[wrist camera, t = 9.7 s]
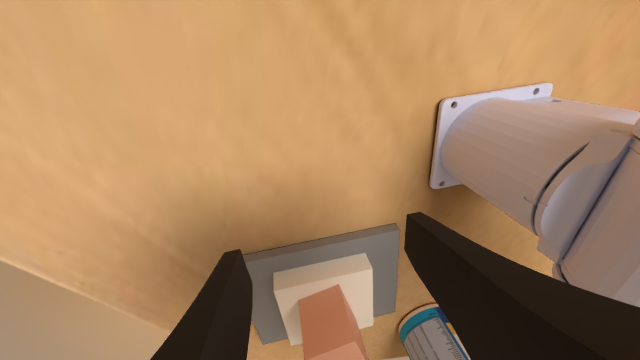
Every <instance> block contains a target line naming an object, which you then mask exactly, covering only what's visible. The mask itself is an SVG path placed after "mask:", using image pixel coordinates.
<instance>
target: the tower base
mask: <svg viewBox="0 0 640 360" xmlns="http://www.w3.org/2000/svg"><path fill="white" fill-rule="evenodd" d="M399 239H400V229H399V228H398V226H397V225H396V223H394V224H389V225H385V226H380V227H375V228H370V229H366V230H361V231H356V232H351V233H346V234H342V235H337V236H332V237H327V238H323V239H318V240H313V241H308V242H304V243H299V244H294V245H289V246H285V247H280V248H275V249H270V250H266V251H261V252H256V253H251V254H247V255H242V256H243V259H244V261H245V264H246V267H247V269H248V272H249V275H250V277H251V280H252V283H253V306H252V317H251V318H252V320H253V323H254V325H255V327H256V330H257V332H258V334H259V337H260V339H261V341H262V344H263V345H264V344H268V343H272V342H276V341H280V340H284V339H288V338H289V341H290V344H291V346H294V345H298V344H302V343H303V342H302V332H301V323H300V313H299V304H298V300H299V299H302V298H304V297H307V296H310V295H312V294H315V293H317V292H320V291H322V290H325V289H327V288H330V287H332V286H335V285H337V284H339V286H340V288H341V290H342V292H343V294H344V296H345V298H346V300H347V302H348V304H349V306H350V308H351V310H352V312H353V314H354V316H355V318H356V321H357V324H358V327H359V329H362V328H366V327H370V326H373V317H377V316H381V315H385V314H389V313H393V312H395V304H396V288H397V272H398V255H399Z"/></svg>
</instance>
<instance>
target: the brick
mask: <svg viewBox="0 0 640 360" xmlns="http://www.w3.org/2000/svg"><path fill="white" fill-rule="evenodd" d="M298 304H299V313H300V323H301V332H302V342H303V351H304V360H369V359H368V356H367V353H366V350H365V347H364V343H363V340H362V337H361V334H360V331H359V327H358V324H357V321H356V318H355V316H354V314H353V312H352V310H351V308H350V306H349V304H348V302H347V300H346V298H345V296H344V294H343V292H342V290H341V288H340V286H339V284H337V285H335V286H332V287H330V288H327V289H325V290H322V291H320V292H317V293H315V294H312V295H310V296H307V297H304V298H302V299H299V300H298Z"/></svg>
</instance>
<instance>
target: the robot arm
mask: <svg viewBox="0 0 640 360" xmlns="http://www.w3.org/2000/svg"><path fill="white" fill-rule="evenodd" d="M552 89H553V85H552V83H546V82H545V83H539V84H532V85H526V86H520V87H514V88H508V89H501V90H495V91H489V92H483V93H477V94H470V95H464V96H458V97H452V98H446V99H444V100H442V101H441V103H440V105H439V112H438V120H437V128H436V136H435V144H434V152H433V160H432V168H431V177H430V187H431V188H432V189H440V188H445V187H450V186H455V185H460V184H464V185H465V186H467V187H468V188H470V189H471V190H472V191H474V192H475V193H477V194H478V195H480V196H481V197H482V198H484V199H485V200H487V201H488V202H490V203H491V204H492V205H494V206H495V207H497V208H498V209H500V210H501V211H503V212H504V213H505V214H507V215H508V216H510V217H511V218H513V219H514V220H515V221H517V222H518V223H520V224H521V225H523V226H524V227H525V228H527V229H528V230H530V231H531V232H533V233H534V234H535V235H537V236H538V237H539V243H538V246H537V250H539V251H540V252H541V253H543V254H544V255H545V256H547V257H548V258H549V259H551V260H552V261H553V262H554V264H553V268H552V274H553V278H552V277H549V276H547V275H544V274H542V273H539V272H537V271H534V270H532V269H530V268H527V267H525V266H523V265H520V264H518V263H516V262H513V261H511V260H509V259H507V258H505V257H503V256H500V255H498V254H496V253H494V252H492V251H490V250H488V249H486V248H484V247H482V246H481V245H479V244H477V243H475V242H473V241H471V240H469V239H467V238H466V237H464V236H462V235H460V234H458V233H457V232H455V231H453V230H451V229H450V228H448V227H446V226H444V225H443V224H441V223H439V222H437V221H436V220H434V219H432V218H430V217H429V216H427V215H425V214H423V213H421V212H417V213H412V214H407V219H406V232H405V245H404V250H405V252H406V254H407V256H408V258H409V260H410V262H411V264H412V266H413V267H414V269H415V271H416V273H417V274H418V276H419V277H420V279H421V280H422V282H423V283H424V285H425V286H426V288H427V289H428V291H429V292H430V294H431V295H432V297H433V298H434V300H435V301H436V302H437V304H438V305H439V307H440V308H441V310H442V311H443V313H444V314H445V316H446V317H447V319H448V320H449V322H450V324H451V325H452V327H453V328H454V330H455V332H456V334H457V336H458V337H459V339H460V341H461V343H462V345H463V346H464V348H465V350H466V352H467V354H468V355H469V357H470V359H471V360H640V111H635V110H629V109H623V108H617V107H611V106H605V105H599V104H593V103H587V102H581V101H575V100H569V99H563V98H557V97H551V96H550V95H551V92H552ZM533 91H534V92H533ZM453 102H454V105H453V106H452V107H451V104H452V103H453ZM440 182H442V183H441V184H440ZM252 306H253V283H252V280H251V277H250V275H249V272H248V269H247V267H246V264H245V261H244V259H243V256H242V253H241V251H240V249H239V250H234V251H229V252H225V253H224V254H223V256H222V257H221V259H220V260H219V262H218V264H217V265H216V267H215V269H214V270H213V272H212V274H211V275H210V277H209V278H208V280H207V282H206V283H205V285H204V286H203V288H202V289H201V291H200V292H199V294H198V295H197V297H196V299H195V300H194V302H193V303H192V305H191V306H190V307H189V309H188V310H187V312H186V313H185V314H184V316H183V317H182V319H181V320H180V322H179V323H178V324H177V326H176V327H175V329H174V330H173V331H172V333H171V334H170V335H169V337H168V338H167V339H166V340H165V342H164V343H163V345H162V346H161V347H160V348H159V349H158V351H157V352H156V353H155V354H154V356H153V357H152V358H151V359H150V360H246V359H247V351H248V342H249V334H250V325H251V317H252Z"/></svg>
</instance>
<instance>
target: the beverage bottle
mask: <svg viewBox="0 0 640 360" xmlns="http://www.w3.org/2000/svg"><path fill="white" fill-rule="evenodd" d="M399 337H400V339H401V341H402V343H403V345H404V347H405V349H406V351H407V354H408V356H409V358H410V360H471V359H470V357H469V355H468V354H467V352H466V350H465V348H464V346H463V345H462V343H461V341H460V339H459V337H458V336H457V334H456V332H455V330H454V328H453V327H452V325H451V324H450V322H449V320H448V319H447V317H446V316H445V314H444V313H443V311H442V310H441V308H440V307H439V305H438V304H437V303H436V304H429V305H425V306H422V307H420V308H418V309H416V310H414V311H412V312H411V313H410V314H408V315H407V316H406V317H405V318H404V319H403V320H402V322H401V324H400V326H399Z"/></svg>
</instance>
